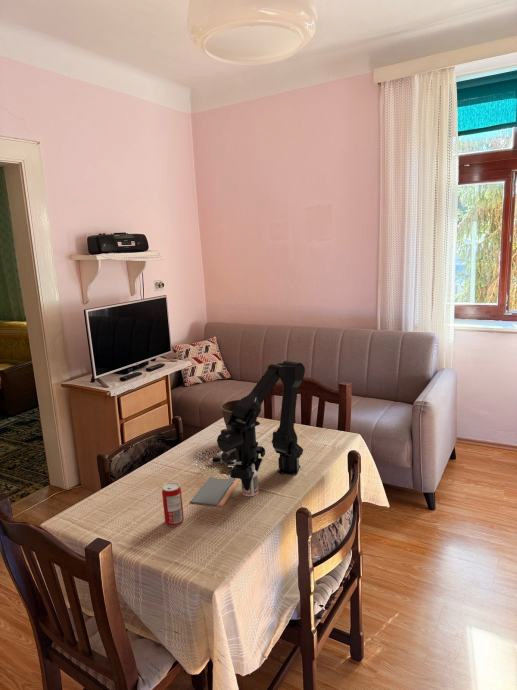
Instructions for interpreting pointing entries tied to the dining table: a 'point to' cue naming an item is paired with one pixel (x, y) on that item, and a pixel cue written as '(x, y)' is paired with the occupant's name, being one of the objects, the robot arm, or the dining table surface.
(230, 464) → the robot toy
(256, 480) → the pill bottle
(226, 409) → the plant pot
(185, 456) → the dining table surface
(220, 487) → the mat
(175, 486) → the soda can
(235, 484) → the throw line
